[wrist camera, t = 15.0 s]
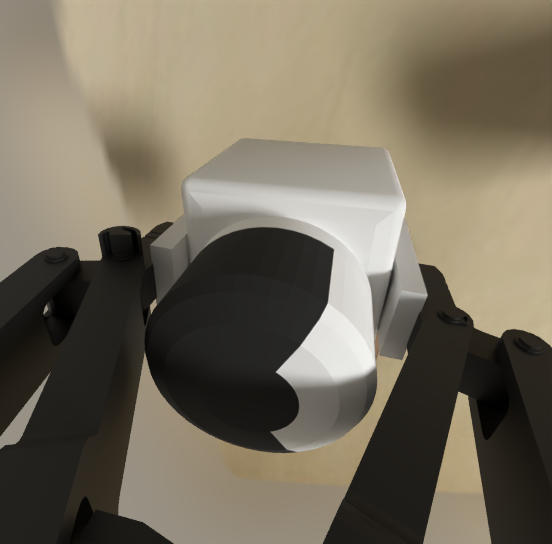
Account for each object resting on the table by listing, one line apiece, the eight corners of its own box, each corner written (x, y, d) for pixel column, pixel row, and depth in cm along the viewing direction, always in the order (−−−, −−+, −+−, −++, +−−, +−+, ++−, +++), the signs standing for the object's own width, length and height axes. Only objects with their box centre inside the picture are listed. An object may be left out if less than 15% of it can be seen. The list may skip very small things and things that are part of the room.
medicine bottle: (242, 263, 21) (136, 455, 11) (239, 136, 17) (72, 249, 7) (365, 278, 20) (374, 507, 10) (390, 146, 16) (447, 296, 6)
